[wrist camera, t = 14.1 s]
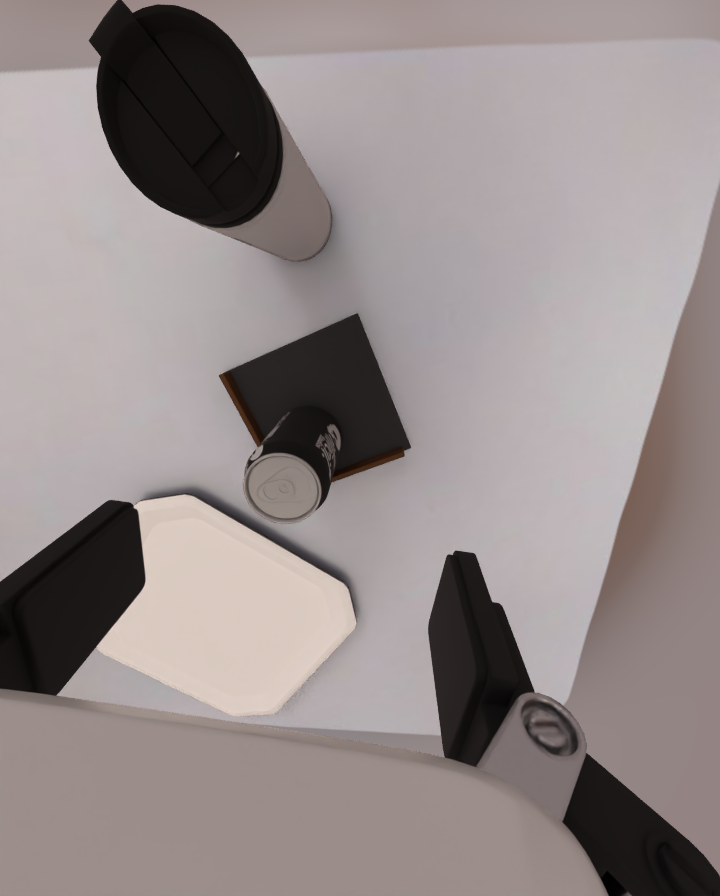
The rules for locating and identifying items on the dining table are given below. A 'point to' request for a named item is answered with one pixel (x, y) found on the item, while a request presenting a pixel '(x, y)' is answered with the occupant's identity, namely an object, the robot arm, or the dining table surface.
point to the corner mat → (324, 393)
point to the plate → (226, 610)
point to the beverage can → (293, 466)
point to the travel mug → (204, 131)
